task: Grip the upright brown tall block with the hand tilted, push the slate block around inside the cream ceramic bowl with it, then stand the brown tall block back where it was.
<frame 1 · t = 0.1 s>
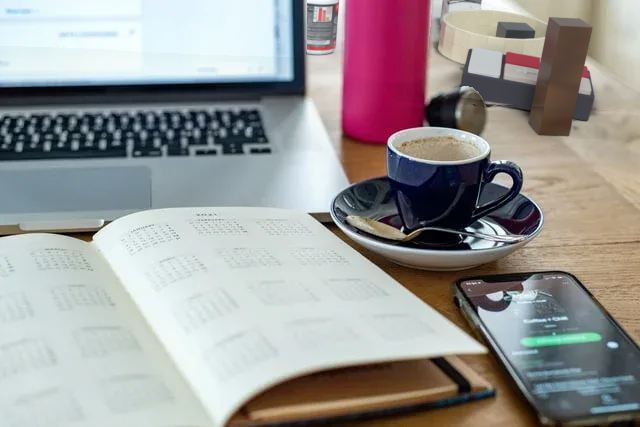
slate block: (511, 55, 120), point 1 cm above the table, touching bowl
brown tall block: (548, 129, 97), on the table
ink box: (455, 35, 131), on the table
grey switch panel: (522, 99, 106), on the table
pill bottle: (313, 50, 118), on the table
bowl: (492, 60, 120), on the table
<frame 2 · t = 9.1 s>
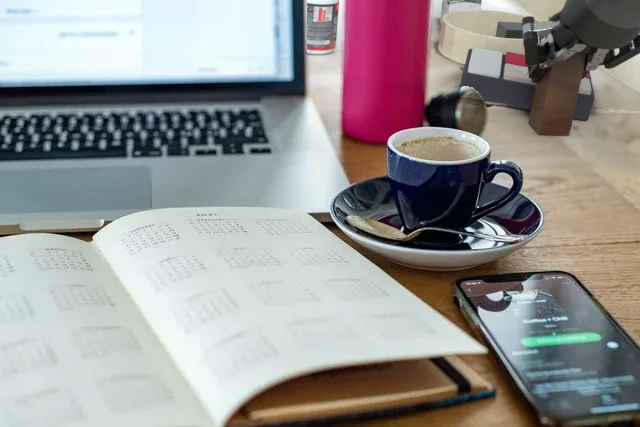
hand: (551, 75, 96), 6 cm above the table, tool tilted 45°, fingers closed on brown tall block, 3 cm apart
brown tall block: (548, 129, 97), on the table, touching gripper
everything else where it was.
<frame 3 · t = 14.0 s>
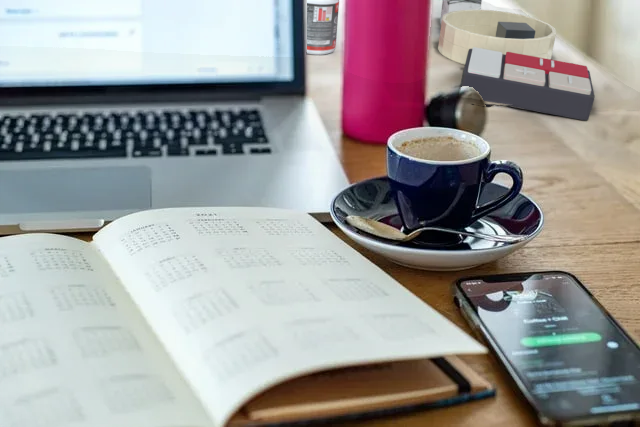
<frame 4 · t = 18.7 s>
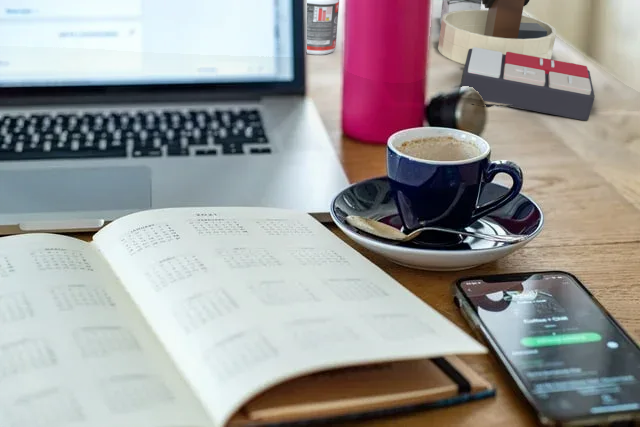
hand: (501, 2, 118), 7 cm above the table, tool tilted 45°, fingers closed on brown tall block, 3 cm apart
slate block: (522, 55, 120), point 1 cm above the table
brown tall block: (498, 47, 118), point 2 cm above the table, touching gripper
everything else where it was.
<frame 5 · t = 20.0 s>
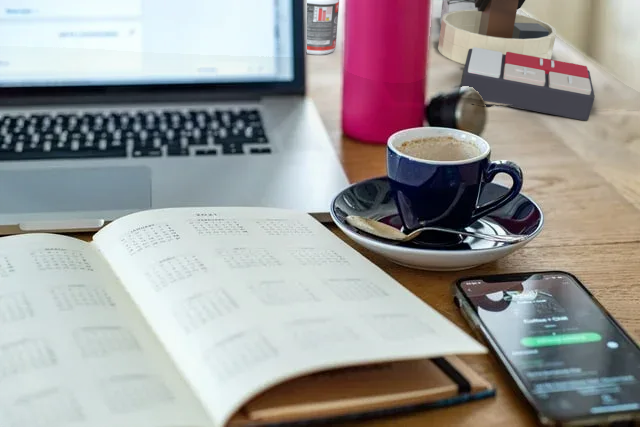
hand: (494, 5, 116), 7 cm above the table, tool tilted 45°, fingers closed on brown tall block, 3 cm apart
slate block: (524, 55, 120), point 1 cm above the table, touching bowl
brown tall block: (492, 51, 117), point 2 cm above the table, touching gripper
everything else where it was.
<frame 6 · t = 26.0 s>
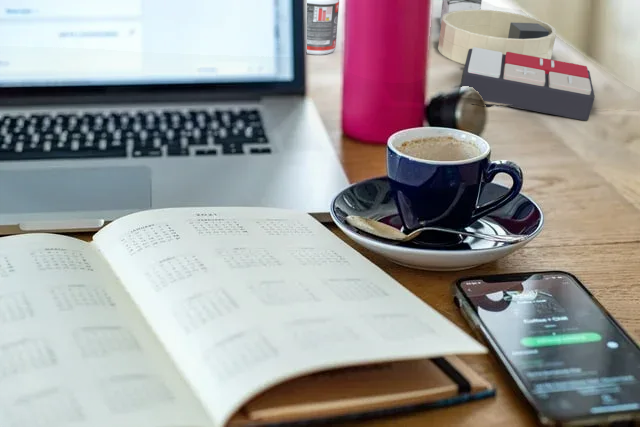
when the fingers open (5 cm above the table, at t = 31.1 s): brown tall block stays where it is, on the table.
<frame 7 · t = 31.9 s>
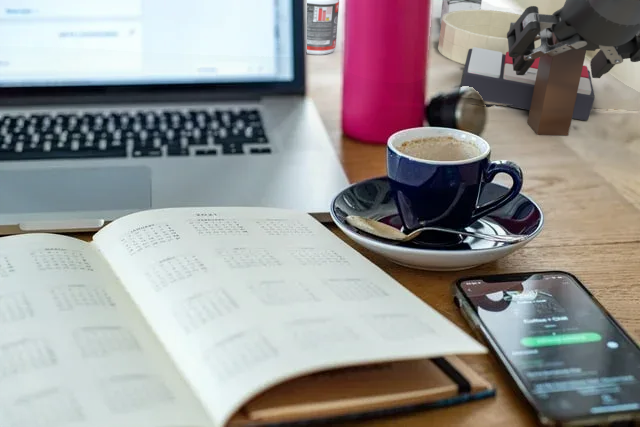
hand: (556, 69, 95), 6 cm above the table, tool tilted 45°, fingers open, 8 cm apart
brown tall block: (547, 129, 97), on the table
everything else where it was.
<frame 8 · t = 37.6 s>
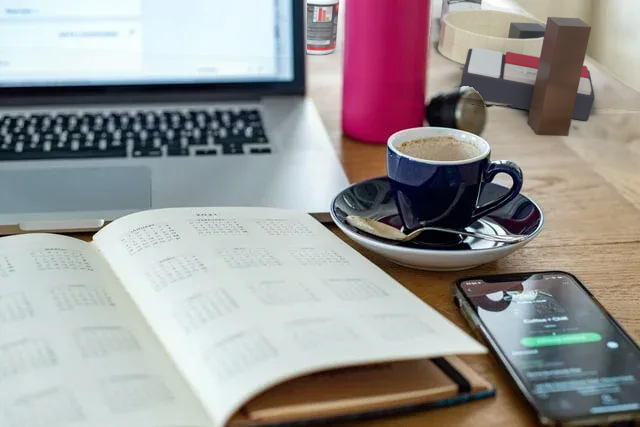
nothing on the table moved.
at the end: slate block moved 1.8 cm from its start; slate block inside the target area in the bowl (4.3 cm from its centre), point 0.8 cm above the bowl's base; brown tall block inside the target area (0.1 cm from its centre), on the table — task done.
